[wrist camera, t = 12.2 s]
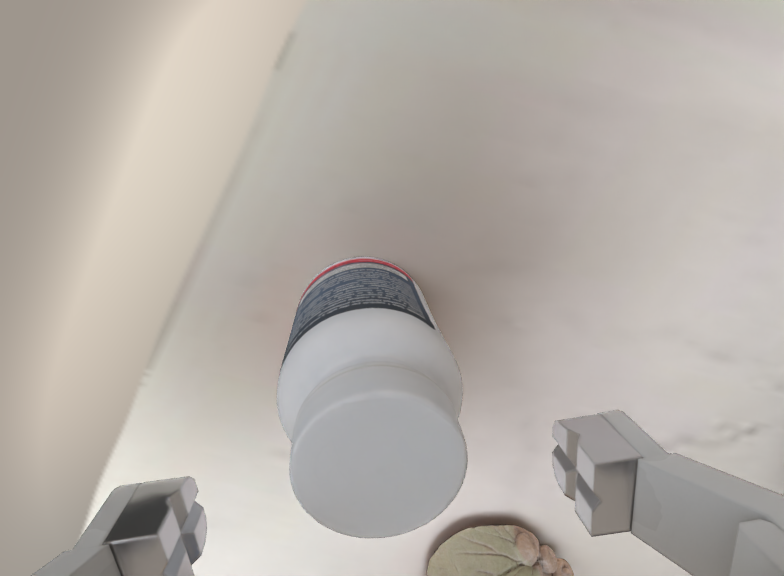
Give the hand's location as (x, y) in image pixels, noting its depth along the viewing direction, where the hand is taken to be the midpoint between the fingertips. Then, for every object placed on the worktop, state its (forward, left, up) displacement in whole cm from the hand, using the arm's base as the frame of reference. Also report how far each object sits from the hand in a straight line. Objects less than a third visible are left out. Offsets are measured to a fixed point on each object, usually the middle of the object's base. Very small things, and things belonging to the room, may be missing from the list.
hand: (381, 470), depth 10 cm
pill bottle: (0, 0, -9) cm, 9 cm away
